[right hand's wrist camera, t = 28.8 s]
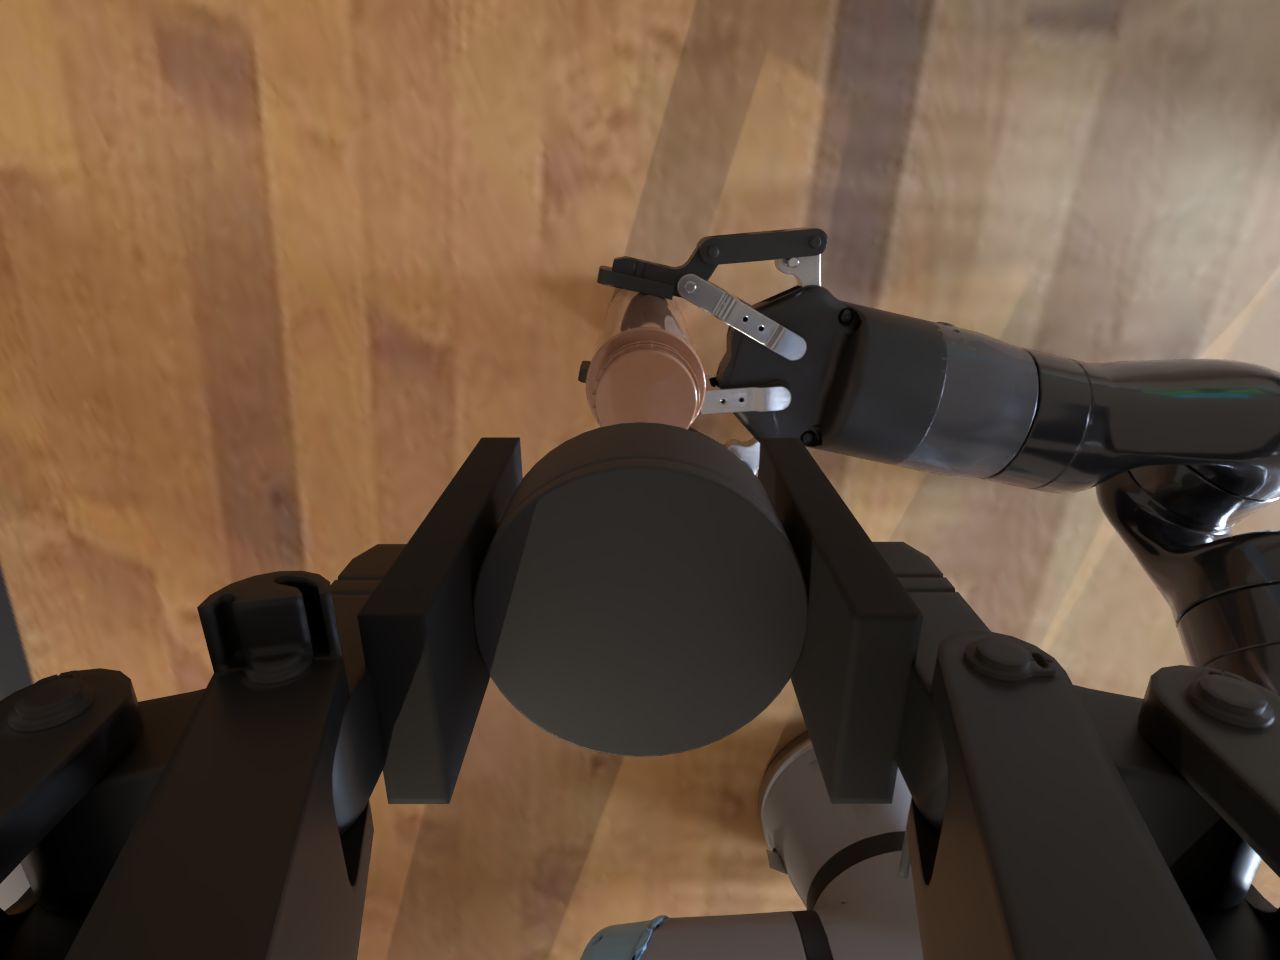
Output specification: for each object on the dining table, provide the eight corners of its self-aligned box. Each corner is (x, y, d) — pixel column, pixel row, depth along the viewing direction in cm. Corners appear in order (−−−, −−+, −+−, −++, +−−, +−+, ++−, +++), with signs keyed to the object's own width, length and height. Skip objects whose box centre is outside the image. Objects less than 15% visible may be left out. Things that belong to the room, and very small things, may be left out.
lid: (827, 600, 12) (864, 676, 10) (593, 711, 13) (584, 801, 11) (698, 365, 11) (711, 401, 9) (443, 508, 12) (402, 569, 10)
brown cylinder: (598, 293, 41) (563, 358, 22) (668, 271, 40) (692, 319, 22) (619, 362, 42) (604, 477, 24) (687, 342, 42) (725, 443, 23)
